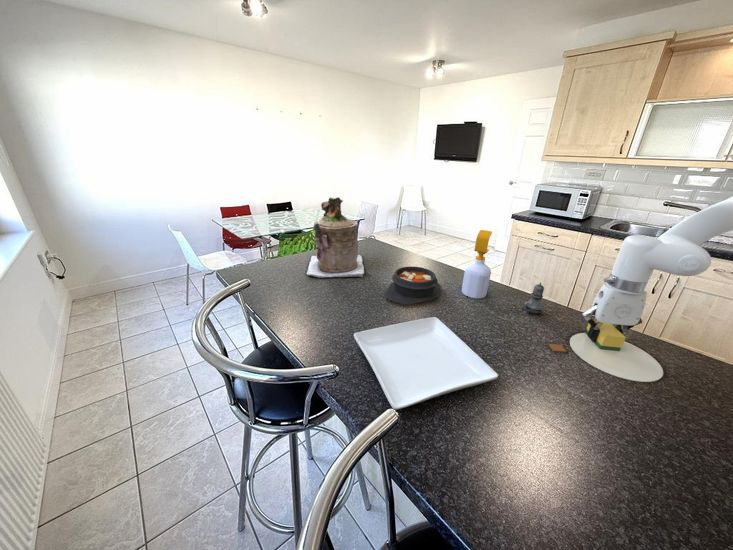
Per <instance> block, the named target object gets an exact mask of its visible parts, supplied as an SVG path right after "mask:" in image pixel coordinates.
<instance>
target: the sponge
mask: <svg viewBox="0 0 733 550" xmlns="http://www.w3.org/2000/svg"><path fill="white" fill-rule="evenodd" d="M597 322H598V321H597ZM597 322H596V323H597ZM590 326H591V325H590V324H589V323H588V324H587V327H586V329H585V332H584V333H586V334H587V335H588V331H589V329H590ZM614 326H615V325H614V324H607V323H603V324H602V326H601V327H600V328H599V330H600V333H599V335H598V338H597V340H596V342H594V343H595V344H596V345H597V346H598V348H599V349H603V350H613V351H620V349H621V347H622V345H623V343H624V341H625V342H626V339H627V337H626V336H625V334H624V333H623V334H622V333H621V332H620V331H618V330H617V329H616V328H615V327H616V326H615V327H614Z"/></svg>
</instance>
